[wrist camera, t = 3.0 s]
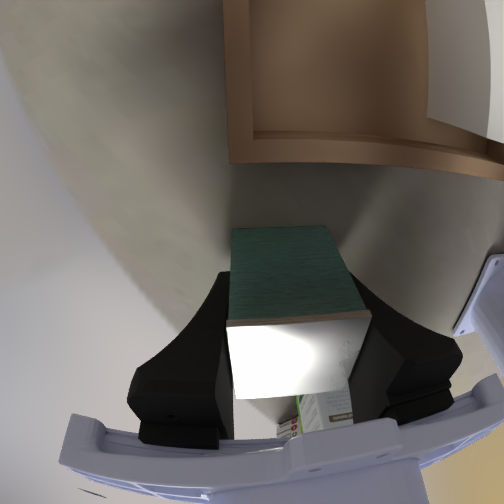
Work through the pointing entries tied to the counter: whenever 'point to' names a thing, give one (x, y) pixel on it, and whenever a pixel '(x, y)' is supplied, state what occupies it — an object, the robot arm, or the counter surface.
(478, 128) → the white rectangular block
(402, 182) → the counter surface
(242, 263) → the tea tin
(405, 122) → the wooden tray
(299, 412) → the syrup box
